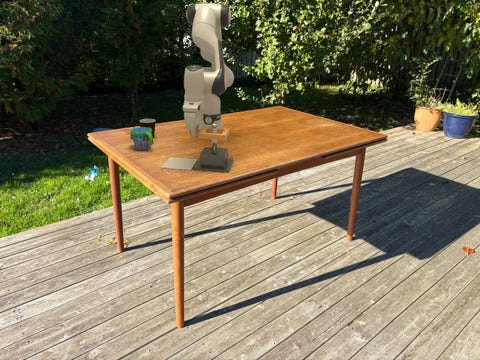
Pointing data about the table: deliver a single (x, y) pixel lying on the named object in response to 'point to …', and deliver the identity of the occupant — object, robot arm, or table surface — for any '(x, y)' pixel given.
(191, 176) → the table surface
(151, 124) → the coffee mug
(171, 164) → the mat
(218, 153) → the stand
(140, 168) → the table surface
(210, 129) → the orange handled frame
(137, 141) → the snack cup
